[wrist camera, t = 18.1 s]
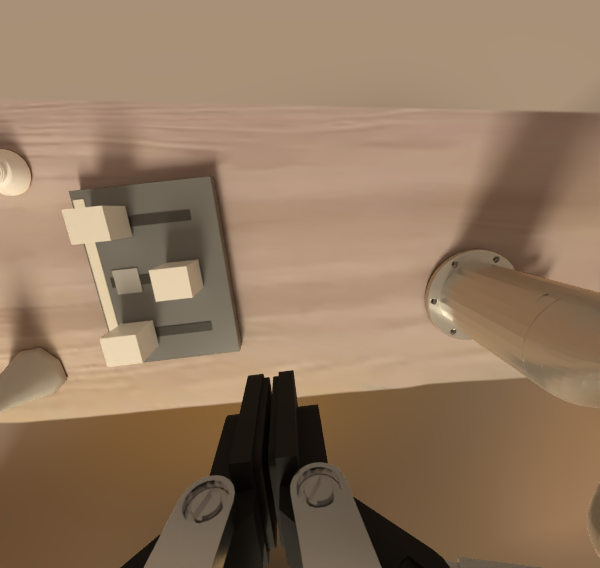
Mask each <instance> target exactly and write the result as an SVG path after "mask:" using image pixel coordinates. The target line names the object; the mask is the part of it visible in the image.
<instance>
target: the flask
mask: <svg viewBox="0 0 600 568" xmlns="http://www.w3.org/2000/svg"><path fill="white" fill-rule="evenodd" d="M66 380H67V377H66V375H65V372H64V370H63V367H62V365H61V363H60V360H58V359H57V358H55V357H54V356H52V355H51V354H49V353H48V352H46V351H45V350H43V349H42V348H36V349H30V350H25V351H20V352H19V353H18V354H17V355H16V356H15V357H14V359H13V360H12V361H11V362H10V363H9V365H8V366H7V367H6V368H5V370H4V371H3V372H2V373H1V374H0V413H1V412H3V411H5V410H7V409H10V408H13V407H15V406H18V405H21V404H24V403H26V402H29V401H32V400H35V399H38V398H41V397H44V396H48V395H51V394H53V393H56V392H57V390H58V389H59V388H60V387H61V386H62V385H63V383H64V382H65V381H66Z"/></svg>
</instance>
